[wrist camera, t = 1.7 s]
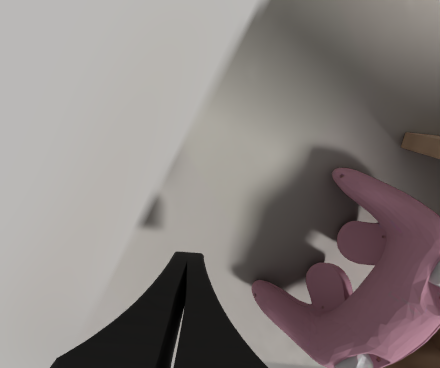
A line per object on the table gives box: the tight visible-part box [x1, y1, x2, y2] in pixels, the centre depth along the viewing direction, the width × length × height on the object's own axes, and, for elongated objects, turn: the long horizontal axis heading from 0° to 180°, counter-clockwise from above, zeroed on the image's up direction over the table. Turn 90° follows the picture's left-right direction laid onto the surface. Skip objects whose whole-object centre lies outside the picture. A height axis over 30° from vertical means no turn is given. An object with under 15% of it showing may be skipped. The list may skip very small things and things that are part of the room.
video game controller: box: [252, 168, 440, 368], centre depth 13 cm, size 10×5×7 cm, turn 152°
